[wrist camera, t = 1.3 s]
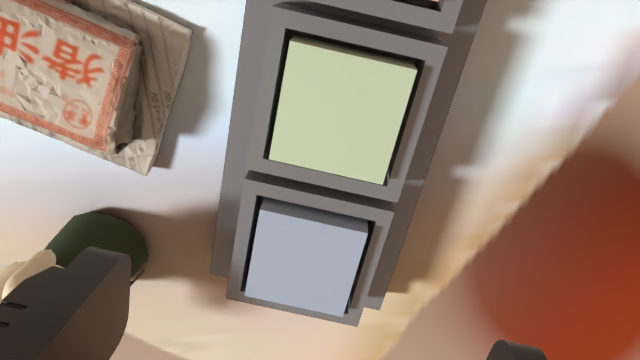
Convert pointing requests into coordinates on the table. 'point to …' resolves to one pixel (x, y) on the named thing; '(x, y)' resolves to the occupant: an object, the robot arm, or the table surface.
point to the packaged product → (92, 74)
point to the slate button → (305, 256)
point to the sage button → (340, 109)
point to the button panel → (326, 188)
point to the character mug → (79, 247)
